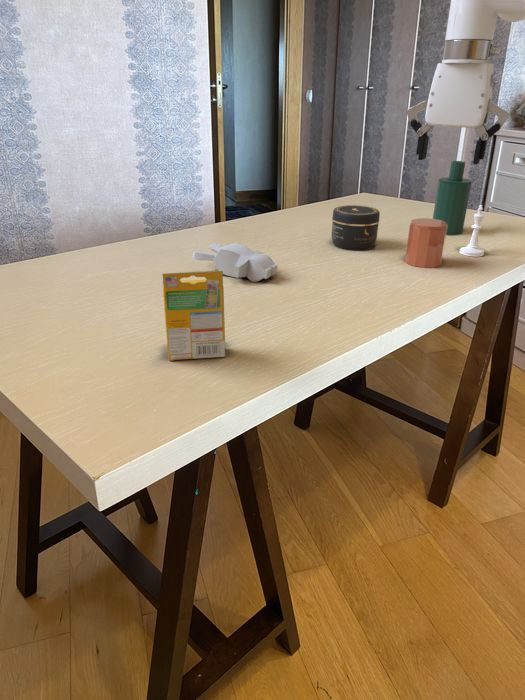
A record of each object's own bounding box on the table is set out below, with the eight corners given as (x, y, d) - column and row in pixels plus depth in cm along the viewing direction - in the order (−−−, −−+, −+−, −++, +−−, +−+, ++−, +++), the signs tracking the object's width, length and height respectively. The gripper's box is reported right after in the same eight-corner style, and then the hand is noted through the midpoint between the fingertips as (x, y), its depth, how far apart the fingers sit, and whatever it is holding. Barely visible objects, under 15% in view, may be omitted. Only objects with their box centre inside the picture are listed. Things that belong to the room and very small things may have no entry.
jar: (346, 253, 110) (349, 216, 107) (322, 241, 118) (324, 206, 115) (385, 248, 114) (389, 212, 111) (359, 237, 122) (362, 203, 119)
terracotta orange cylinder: (442, 260, 107) (449, 220, 103) (438, 269, 101) (445, 228, 98) (408, 255, 110) (414, 216, 106) (402, 264, 104) (408, 224, 100)
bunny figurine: (260, 266, 89) (188, 243, 94) (257, 294, 91) (186, 269, 97) (286, 252, 96) (217, 231, 102) (282, 278, 99) (215, 256, 104)
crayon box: (223, 347, 71) (221, 263, 65) (225, 357, 68) (224, 271, 63) (168, 350, 70) (161, 265, 64) (168, 361, 67) (161, 273, 62)
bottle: (463, 229, 130) (476, 161, 122) (460, 236, 124) (473, 164, 116) (433, 226, 132) (444, 158, 125) (428, 233, 126) (440, 162, 119)
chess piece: (487, 253, 112) (497, 205, 107) (478, 258, 108) (488, 208, 104) (465, 248, 115) (474, 201, 110) (455, 253, 111) (464, 205, 107)
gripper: (524, 54, 88) (501, 163, 96) (420, 55, 95) (406, 155, 103) (520, 52, 82) (496, 168, 90) (409, 53, 89) (396, 159, 97)
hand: (448, 161), depth 96 cm, fingers open, 9 cm apart
